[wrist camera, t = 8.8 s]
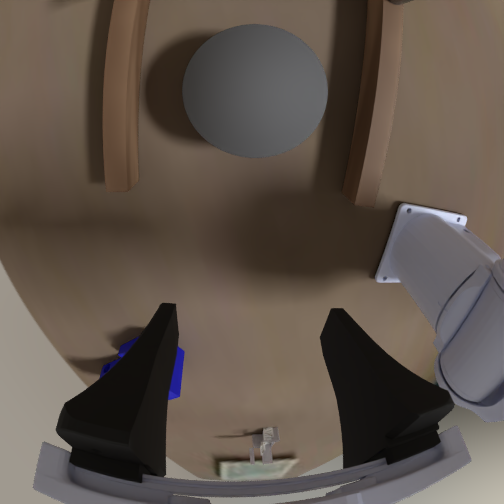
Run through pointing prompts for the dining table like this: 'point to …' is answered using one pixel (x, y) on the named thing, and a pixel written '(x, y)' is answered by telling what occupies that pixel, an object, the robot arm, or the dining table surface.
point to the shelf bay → (367, 117)
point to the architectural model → (264, 444)
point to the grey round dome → (255, 91)
